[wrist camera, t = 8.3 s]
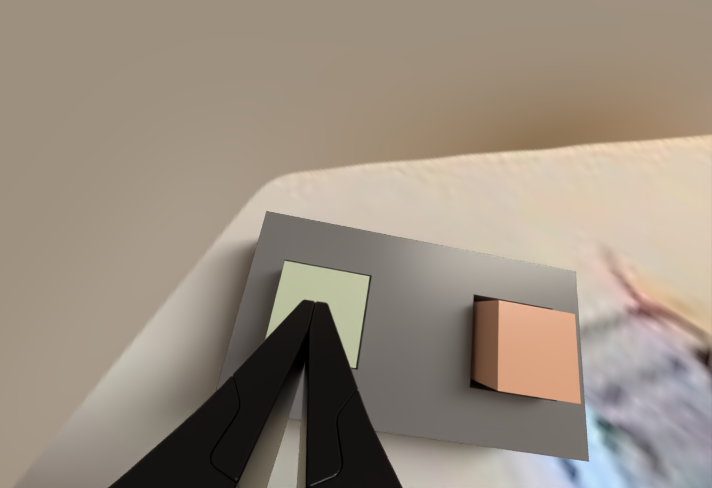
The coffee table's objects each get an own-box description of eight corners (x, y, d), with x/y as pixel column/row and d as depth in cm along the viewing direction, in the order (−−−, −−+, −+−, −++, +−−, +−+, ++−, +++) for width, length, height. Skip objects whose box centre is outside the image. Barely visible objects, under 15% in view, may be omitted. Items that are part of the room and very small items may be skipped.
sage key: (346, 352, 18) (355, 368, 13) (280, 341, 18) (261, 353, 12) (357, 286, 19) (369, 276, 14) (296, 275, 19) (284, 260, 14)
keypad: (523, 425, 19) (588, 461, 15) (241, 382, 18) (211, 407, 13) (522, 280, 22) (575, 271, 18) (279, 234, 21) (266, 211, 16)
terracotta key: (509, 378, 19) (580, 404, 14) (448, 368, 19) (497, 390, 13) (509, 313, 20) (574, 314, 15) (452, 303, 20) (498, 299, 15)
